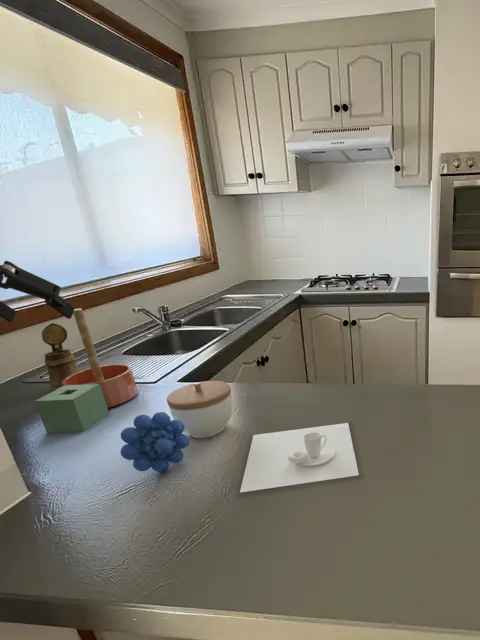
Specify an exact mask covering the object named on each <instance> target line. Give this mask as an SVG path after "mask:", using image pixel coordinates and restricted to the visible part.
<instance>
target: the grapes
mask: <svg viewBox="0 0 480 640" xmlns="http://www.w3.org/2000/svg"><path fill="white" fill-rule="evenodd" d="M184 429H185V427H184V424H183V423H182V422H181V421H179V420H174V419H173V420H171V416H169V414H167V413H166V412H164V411H159V412H156V413H154V414H153V416H152V417H150V416H149V415H148V414H138V415H137V416H136V417H134V419H133V426H130V427H125V428H124V429H122V431H121V432H120V439H121V440H122V441H123V443H125V444H124V445H123V446H122V447H121V448H120V456H121V457H122V458H123V459H124V460H127V461H133V462H132V466H133V468H134V469H135V470H136V471H139V472H147V471H148V470H150V469H152V470H153V471H154V472H157V473H163V472H166V471H167V470H168V469H169V467H170V463H171V464H179V463H180V462H182V461H183V459H184V456H185V455H184V452H183V451H182V450H183V449H184V450H185V449H186V448H187V447H188V446H189V444H190V438H189V437H188V436H187V435H186V434H184Z"/></svg>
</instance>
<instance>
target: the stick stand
mask: <svg viewBox="0 0 480 640" xmlns="http://www.w3.org/2000/svg"><path fill="white" fill-rule="evenodd" d="M34 403H35V406H36V409H37V411H38V415H39V416H40V420H41V421H42V424H43V426H44V430H45V433H47V434H51V433H53V434H55V433H79V432H86V431H88V429H90V428H91V427H93V426H94V425H96V424H97V423H98V422H100V421H101V420H103V419H104V418H105V417H107V416H108V415H110V412H109V408H107V405H106V402H105V399H104V396H103V393H102V390H101V387H100V384H87V385H65V386H62V387H60V388H59V389H57V390H55V391H53V392H52V391H51V392H49V393H48V394H45V395H44V396H42V397H40V398H38V399H36V400H34Z"/></svg>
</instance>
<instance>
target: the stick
mask: <svg viewBox="0 0 480 640" xmlns="http://www.w3.org/2000/svg"><path fill="white" fill-rule="evenodd" d="M72 315H73V318H74V319H75V323H76V326H77V329H78V332H79V335H80V338H81V342H82V344H83V347H84V350H85V351H84V352H85V353H86V356H87V360H88V363H89V366H90V368H91V369H92V372H93V375H94V378H95V382H100V381H104V377H103V374H102V371H101V367H100V366H101V364H100V362H99V361H100V360H99V358H98V354H97V352H96V349H95V346H94V342H93V339H92V336H91V333H90V330H89V326H88V324H87V320H86V318H85V317H86V316H85V314H84V311H83V308H74V311H73V314H72Z"/></svg>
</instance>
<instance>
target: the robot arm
mask: <svg viewBox="0 0 480 640" xmlns="http://www.w3.org/2000/svg"><path fill="white" fill-rule="evenodd" d="M4 278H5V282H3V281H4ZM0 289H3V290H8V289H11V290H14V291H17V292H20V293H24V294H27V295H30V296H33V297H36V298H39V299H42V300H44V303H45V304H46V305H48V306H49V307H51V308H52V309H54V310H55V311H57V312H58V313H59V314H60V315H62V316H64V317H65V318H66V319H68V320H69V319H72V317H73V315H74V314H73V311H74V309H75V307H74V306H73V305H71V304H70V303H68V302H67V300H66V299H65V298H64V297H62V296H61V295H60V293H61V290H62V287H61V286H60V285H58V284H56V283H53V282H52V281H50V280H47V279H45V278H43V277H40V276H38V275H36V274H33V273H32V272H29V271H27V270H25V269H23V268H21V267H19V266H18V265H16V264H15V263H13V262H11V261H9V260H4V261H3V263H2V264H0ZM16 314H17V310H15V309H14V308H12V307H11V306H9V305H7V304H6V303H5V302H3V301H1V300H0V318H2V319H4V320H5V321H7V322H9V323H13V322H14V319H15V317H16Z"/></svg>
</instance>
